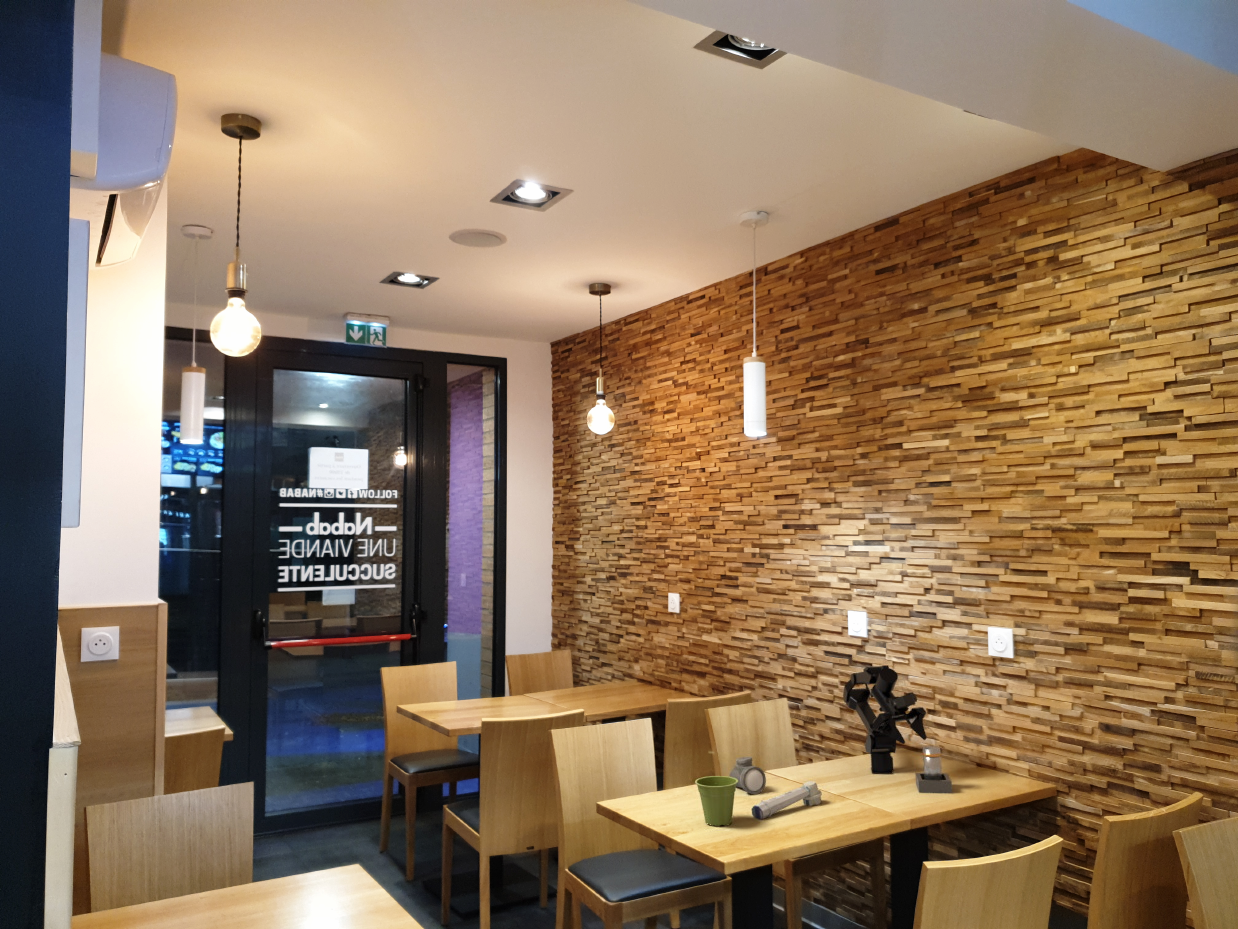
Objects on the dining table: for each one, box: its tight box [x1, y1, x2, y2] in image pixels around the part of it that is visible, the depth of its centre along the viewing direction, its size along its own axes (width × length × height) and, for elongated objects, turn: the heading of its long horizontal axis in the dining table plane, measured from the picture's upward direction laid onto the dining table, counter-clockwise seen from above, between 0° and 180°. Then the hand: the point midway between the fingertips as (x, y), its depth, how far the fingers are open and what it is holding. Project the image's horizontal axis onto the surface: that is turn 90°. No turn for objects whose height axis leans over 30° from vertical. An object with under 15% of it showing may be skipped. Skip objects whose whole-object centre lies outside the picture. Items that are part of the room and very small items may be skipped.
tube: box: [922, 745, 943, 780], centre depth 278 cm, size 5×5×12 cm
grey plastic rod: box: [751, 780, 822, 821], centre depth 262 cm, size 5×7×25 cm
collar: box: [914, 772, 953, 794], centre depth 278 cm, size 9×9×4 cm
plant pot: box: [694, 775, 738, 827], centre depth 253 cm, size 12×12×11 cm
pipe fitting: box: [728, 756, 767, 795], centre depth 285 cm, size 12×8×10 cm, turn 21°
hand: (915, 741), depth 285 cm, fingers open, 9 cm apart
